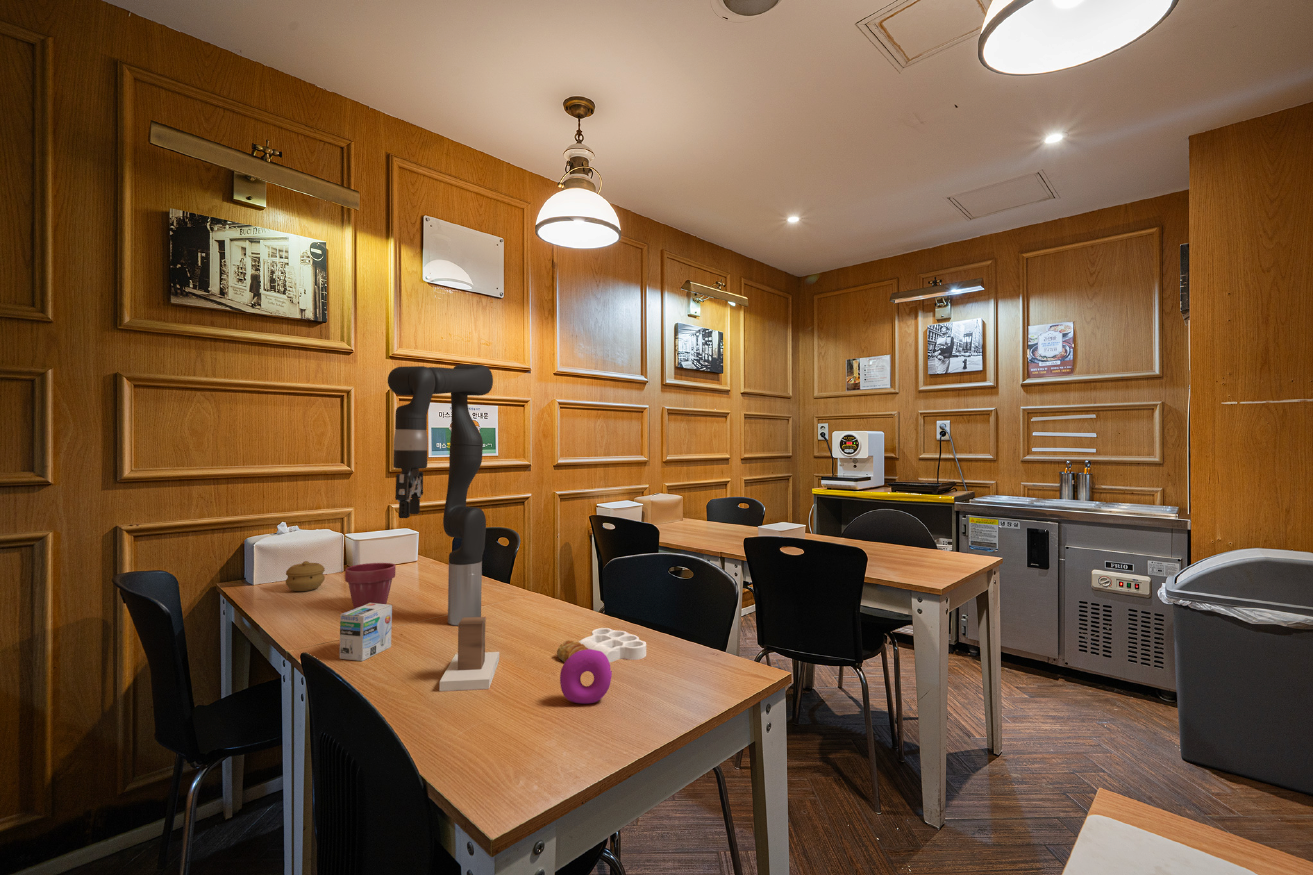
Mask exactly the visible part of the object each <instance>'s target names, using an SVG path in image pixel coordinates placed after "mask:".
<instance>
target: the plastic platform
mask: <svg viewBox="0 0 1313 875" xmlns="http://www.w3.org/2000/svg"><path fill="white" fill-rule="evenodd" d="M499 661H500V651H489V652H487V651H485V662H484V664H483V666H482V669H479V670H458V653H455V655H454V657H453V658H452V659H451V661H450V662H449V664H448V666H447V668H446V670H445V672H444V674H443V675H442V677H441V678H440V680H439V692H448V691H449V692H453V691H471V690H472V691H473V690H475V691H476V690H489V689H490V687H491V684H492V682H493V678H494V677H495V674H496V671H497V668H498V665H499Z"/></svg>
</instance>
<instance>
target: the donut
mask: <svg viewBox="0 0 1313 875" xmlns="http://www.w3.org/2000/svg"><path fill="white" fill-rule="evenodd" d="M587 672H589V673H591V674H592V675H593V681H592V682H591V684H590V685H586V686H585V685H583V683H582V681H581V677H582V675H583V674H584V673H587ZM612 672H613V671H612V670H611V662H610V663H609V660H608V658H607V657H606V655H605V654H604V653H603V652H601V651H597V650H593V649H587V650H582V651H578V652H576V653H574V654H573V655H572V656H570V657H569V658H568V659H567V660H566V662H564V663H563V665H562V667H561V670H560V674H559V681H560V682H559V684H560V689H561V692H562V694H563V696H564V698H566V699H567V700H568V701H569V702H571V703H576V704H594V703H597V702H599V701H601V700H602V699H603V697H604V696H605V695H606V694H607V692H608V691H609V688H610V686H611V682H612V677H613V674H612Z"/></svg>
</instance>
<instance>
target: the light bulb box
mask: <svg viewBox="0 0 1313 875" xmlns="http://www.w3.org/2000/svg"><path fill="white" fill-rule="evenodd" d="M339 617H340V621H339V624H340V625H339V626H340V628H339V659H341V660H348V661H358V662H363V661H365V660H368V659H369V658H371V657H373V656H375V655H377V654H380V653H381V652H383V651H386V650H388V649H389V648H391V647H392V627H393V626H392V623H393V622H392V620H393V605H392V604H376V603H369V604H366V605H364V606H361V607H358V608H356V609H354V608H353V609H350V610H349V611H345V612H343V613H340V616H339Z"/></svg>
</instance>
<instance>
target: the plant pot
mask: <svg viewBox="0 0 1313 875" xmlns="http://www.w3.org/2000/svg"><path fill="white" fill-rule="evenodd" d="M344 571H345V572H344V573H345V574H344V581H345V582H346V583H348V588H349V594H350V597H351V598H350V599H351V601H352V602H351V603H352V605H353V609H356V608H358V607H361V606H364V605H366V604H369V603H376V604H387V603H388V599H389V596H390V590H391V586H392V582H393V579H394V578H396V564H395V563H392V562H371V563H362V564H356V565H350V566H348V567H346V568H345V570H344Z"/></svg>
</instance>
